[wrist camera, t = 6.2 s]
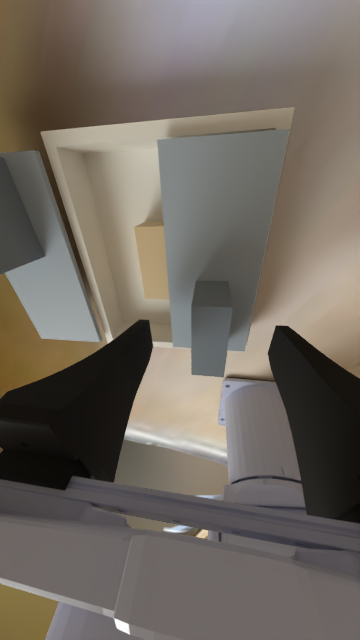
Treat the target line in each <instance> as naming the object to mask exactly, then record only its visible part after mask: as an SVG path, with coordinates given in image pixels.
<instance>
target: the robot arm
mask: <svg viewBox="0 0 360 640" xmlns="http://www.w3.org/2000/svg"><path fill="white" fill-rule="evenodd" d="M152 348H153V342H152V335H151V329H150V322H149V320H142V319H139V320H138V321H137V322H135V323H134V324H133V325H132V326H130V327H129V328H128V329H127V330H125V331H124V332H123V333H122V334H120V335H119V336H118V337H116V338H115V339H114V340H112V341H111V342H110V343H108V344H107V345H105V346H104V347H103V348H101V349H100V350H98V351H96V352H95V353H93V354H92V355H90V356H88V357H87V358H85V359H83V360H81V361H79V362H77V363H75V364H73V365H72V366H70V367H68V368H66V369H64V370H62V371H59V372H57V373H55V374H53V375H50V376H48V377H46V378H43V379H41V380H38V381H36V382H33V383H30V384H28V385H25V386H22V387H19V388H17V389H14V390H11V391H8V392H7V393H6V394H5V395H4V396H3V397H2V398H1V399H0V447H1V448H2V449H4V450H3V451H2V452H1V453H0V583H1V584H4V585H8V586H11V587H14V588H17V589H20V590H24V591H27V592H30V593H33V594H37V595H40V596H43V597H47V598H50V599H53V600H57V601H59V604H58V606H57V609H56V612H55V614H54V617H53V620H52V622H51V625H50V628H49V631H48V633H47V636H46V639H45V640H360V379H359V378H358V377H356V376H354V375H353V374H351V373H350V372H348V371H347V370H345V369H344V368H342V367H341V366H339V365H338V364H336V363H335V362H333V361H332V360H331V359H329V358H328V357H327V356H325V355H324V354H323V353H321V352H320V351H319V350H317V349H316V348H315V347H314V346H312V345H311V344H310V343H309V342H307V341H306V340H305V339H304V338H302V337H301V336H300V335H299V334H297V333H296V332H295V331H294V330H292V329H291V328H290V327H288V326H276V327H275V331H274V334H273V338H272V341H271V344H270V348H269V351H268V356H269V361H270V366H271V370H272V373H273V376H274V379H275V382H271V381H259V380H247V379H235V378H225V379H224V381H223V389H222V396H221V404H220V411H219V419H218V424H219V425H223V426H226V439H227V456H228V474H229V485H224V486H223V490H224V491H223V495H224V498H219V499H218V500H214V499H208V498H202V497H196V496H190V495H184V494H178V493H172V492H166V491H160V490H154V489H148V488H142V487H136V486H130V485H124V484H118V483H114V479H115V474H116V469H117V464H118V460H119V455H120V451H121V447H122V443H123V439H124V435H125V431H126V427H127V423H128V419H129V416H130V412H131V409H132V405H133V402H134V399H135V396H136V393H137V390H138V388H139V385H140V383H141V380H142V378H143V375H144V373H145V370H146V368H147V365H148V363H149V360H150V356H151V353H152ZM112 512H115V513H120V514H125V515H130V516H136V517H141V518H147V519H151V520H157V521H162V522H167V523H173V524H178V525H183V526H189V527H194V528H199V529H205V530H208V539H203V538H198V537H192V536H186V535H180V534H174V533H168V532H160V531H153V530H145V529H136V528H132V527H130V526H129V525H128V524H127V520H126V518H125V517H124V516H121V515H118V514H115V513H112Z"/></svg>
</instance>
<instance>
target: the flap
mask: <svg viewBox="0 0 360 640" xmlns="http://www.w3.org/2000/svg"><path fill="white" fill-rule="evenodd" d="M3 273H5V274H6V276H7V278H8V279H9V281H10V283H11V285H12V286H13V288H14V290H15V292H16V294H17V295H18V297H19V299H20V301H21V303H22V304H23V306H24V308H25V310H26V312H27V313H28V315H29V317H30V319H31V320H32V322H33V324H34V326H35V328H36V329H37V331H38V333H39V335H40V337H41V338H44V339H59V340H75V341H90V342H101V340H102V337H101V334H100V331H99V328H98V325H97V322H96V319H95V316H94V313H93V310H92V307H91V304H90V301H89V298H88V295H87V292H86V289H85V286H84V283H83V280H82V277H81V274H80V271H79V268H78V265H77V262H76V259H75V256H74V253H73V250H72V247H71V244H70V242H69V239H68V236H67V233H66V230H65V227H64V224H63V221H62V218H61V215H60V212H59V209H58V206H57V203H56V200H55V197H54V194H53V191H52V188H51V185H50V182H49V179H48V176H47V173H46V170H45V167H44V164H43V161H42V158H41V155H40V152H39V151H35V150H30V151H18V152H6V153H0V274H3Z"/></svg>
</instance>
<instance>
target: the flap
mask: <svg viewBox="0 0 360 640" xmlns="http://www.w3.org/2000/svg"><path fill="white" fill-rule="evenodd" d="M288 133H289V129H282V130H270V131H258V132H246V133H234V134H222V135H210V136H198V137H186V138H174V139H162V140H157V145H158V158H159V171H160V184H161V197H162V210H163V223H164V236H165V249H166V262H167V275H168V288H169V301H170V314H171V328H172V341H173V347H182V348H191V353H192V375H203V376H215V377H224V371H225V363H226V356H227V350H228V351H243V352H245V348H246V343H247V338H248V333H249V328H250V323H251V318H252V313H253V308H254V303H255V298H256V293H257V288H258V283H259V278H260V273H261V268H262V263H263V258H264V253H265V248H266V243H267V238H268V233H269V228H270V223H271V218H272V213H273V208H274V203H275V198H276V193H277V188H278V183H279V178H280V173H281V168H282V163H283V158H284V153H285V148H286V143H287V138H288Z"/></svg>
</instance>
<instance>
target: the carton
mask: <svg viewBox="0 0 360 640" xmlns="http://www.w3.org/2000/svg"><path fill="white" fill-rule="evenodd" d="M294 110H295V107H287V108H277V109H267V110H256V111H246V112H236V113H226V114H215V115H205V116H195V117H185V118H174V119H164V120H154V121H144V122H133V123H123V124H113V125H102V126H92V127H82V128H72V129H61V130H51V131H41V132H40V133H41V136H42V139H43V142H44V145H45V148H46V151H47V154H48V158H49V161H50V164H51V167H52V170H53V173H54V176H55V179H56V183H57V186H58V189H59V192H60V195H61V198H62V201H63V204H64V208H65V211H66V214H67V217H68V220H69V223H70V226H71V229H72V233H73V236H74V239H75V242H76V245H77V248H78V251H79V254H80V258H81V261H82V264H83V267H84V270H85V273H86V276H87V279H88V283H89V286H90V289H91V292H92V295H93V298H94V301H95V304H96V308H97V311H98V314H99V317H100V320H101V323H102V326H103V329H104V333H105V336H106V339H107V342H108V343H110V342H111V341H112V340H114V339H115V338H116V337H118V336H119V335H120V334H122V333H123V332H124V331H125V330H127V329H128V328H129V327H130V326H132V325H133V324H134V323H135V322H137V321H138V320H139V319H142V320H149V322H150V329H151V335H152V342H153V347H166V348H181V349H191V348H182V347H173V341H172V328H171V314H170V301H169V288H168V275H167V262H166V249H165V236H164V223H163V210H162V197H161V184H160V171H159V158H158V145H157V140H162V139H174V138H186V137H198V136H210V135H222V134H234V133H246V132H258V131H270V130H282V129H289V133H288V138H287V143H286V148H285V153H284V158H283V163H282V168H281V173H280V178H279V183H280V179H281V174H282V169H283V164H284V159H285V154H286V149H287V144H288V139H289V134H290V129H291V124H292V119H293V115H294ZM279 183H278V188H279ZM278 188H277V193H278ZM277 193H276V198H277ZM276 198H275V203H276ZM275 203H274V208H275ZM274 208H273V213H274ZM273 213H272V218H273ZM272 218H271V223H272ZM271 223H270V228H271ZM270 228H269V233H270ZM269 233H268V238H269ZM268 238H267V243H268ZM267 243H266V248H267ZM266 248H265V252H266ZM264 257H265V253H264ZM263 262H264V258H263ZM262 267H263V263H262ZM261 272H262V268H261ZM260 277H261V273H260ZM259 282H260V278H259ZM258 287H259V283H258ZM257 292H258V288H257ZM256 297H257V293H256ZM255 302H256V298H255ZM254 307H255V303H254ZM253 312H254V308H253ZM252 316H253V313H252ZM251 321H252V318H251ZM250 326H251V323H250ZM249 331H250V328H249ZM248 336H249V333H248ZM247 341H248V338H247ZM246 346H247V343H246ZM245 351H246V348H245ZM227 352H242V353H245V352H243V351H228V350H227Z"/></svg>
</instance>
